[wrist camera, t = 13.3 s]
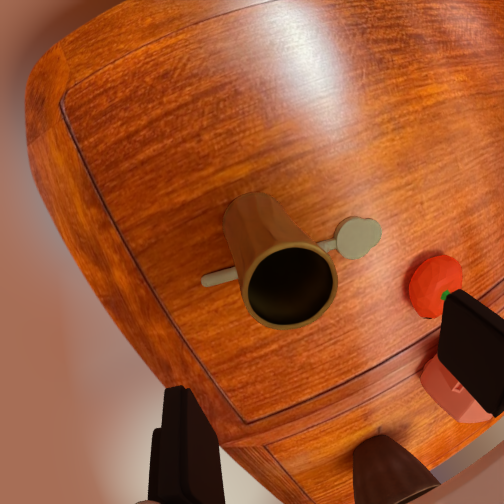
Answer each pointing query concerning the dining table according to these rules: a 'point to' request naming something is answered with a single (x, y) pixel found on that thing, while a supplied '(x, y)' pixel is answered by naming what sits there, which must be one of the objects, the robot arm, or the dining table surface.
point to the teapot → (451, 393)
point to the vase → (277, 264)
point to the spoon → (326, 245)
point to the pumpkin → (434, 284)
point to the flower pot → (388, 473)
